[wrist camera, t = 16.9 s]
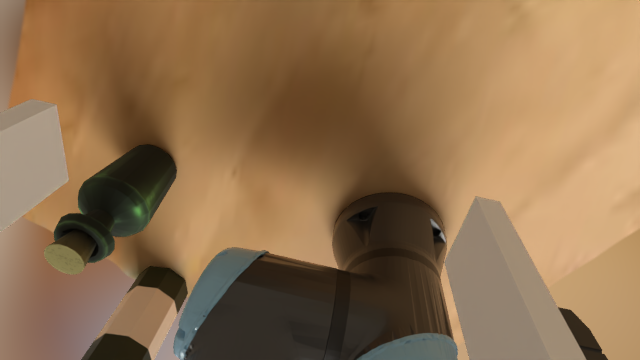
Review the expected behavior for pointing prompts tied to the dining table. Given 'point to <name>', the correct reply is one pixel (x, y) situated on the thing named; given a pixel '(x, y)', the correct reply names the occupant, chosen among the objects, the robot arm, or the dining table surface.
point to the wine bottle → (141, 318)
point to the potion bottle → (111, 208)
